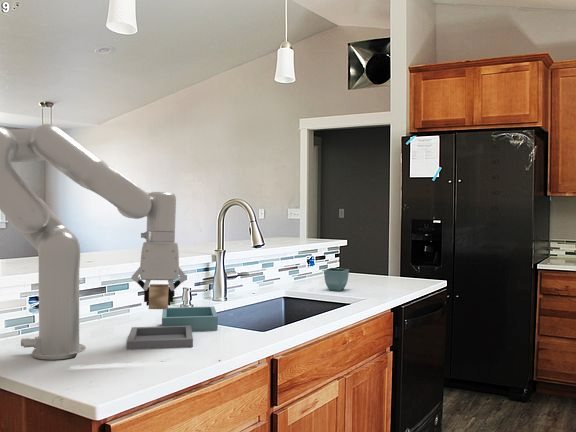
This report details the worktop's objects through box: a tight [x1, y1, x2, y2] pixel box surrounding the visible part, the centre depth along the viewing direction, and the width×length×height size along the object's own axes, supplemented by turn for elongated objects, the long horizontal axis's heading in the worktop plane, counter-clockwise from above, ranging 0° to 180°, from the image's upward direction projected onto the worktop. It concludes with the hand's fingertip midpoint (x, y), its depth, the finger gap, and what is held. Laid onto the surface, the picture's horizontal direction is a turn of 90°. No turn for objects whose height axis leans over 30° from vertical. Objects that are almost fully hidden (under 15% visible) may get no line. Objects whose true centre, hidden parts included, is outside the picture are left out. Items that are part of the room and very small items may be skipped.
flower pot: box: [323, 267, 350, 292], centre depth 254 cm, size 9×9×9 cm
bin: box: [126, 325, 194, 351], centre depth 158 cm, size 17×17×3 cm
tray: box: [161, 306, 219, 332], centre depth 177 cm, size 16×16×5 cm
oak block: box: [148, 283, 169, 310], centre depth 157 cm, size 5×5×6 cm
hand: (158, 304), depth 157 cm, fingers closed on oak block, 4 cm apart
